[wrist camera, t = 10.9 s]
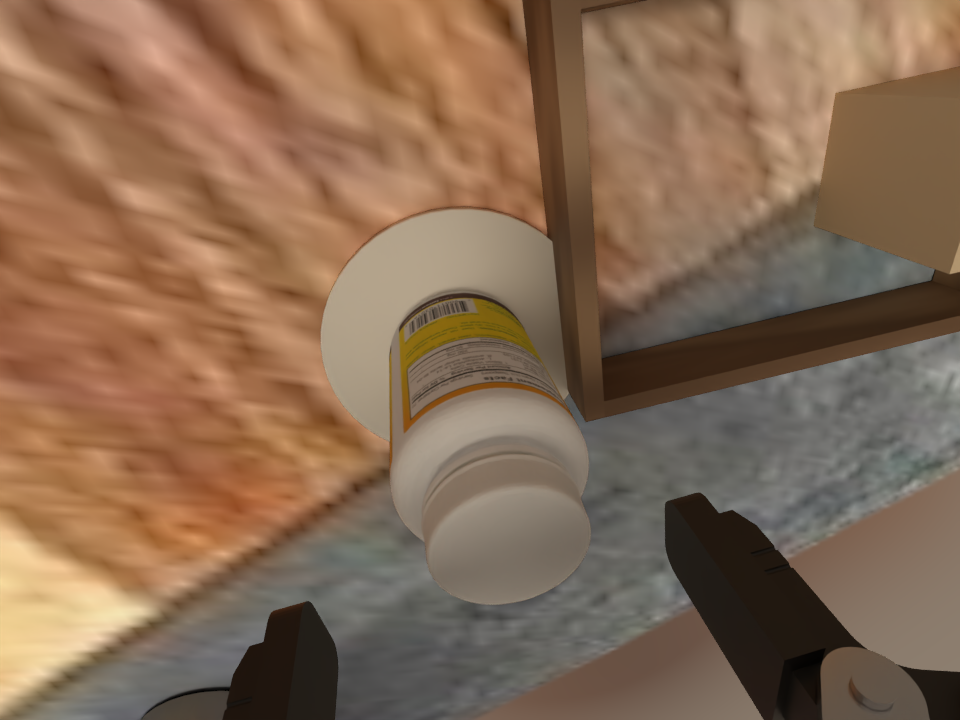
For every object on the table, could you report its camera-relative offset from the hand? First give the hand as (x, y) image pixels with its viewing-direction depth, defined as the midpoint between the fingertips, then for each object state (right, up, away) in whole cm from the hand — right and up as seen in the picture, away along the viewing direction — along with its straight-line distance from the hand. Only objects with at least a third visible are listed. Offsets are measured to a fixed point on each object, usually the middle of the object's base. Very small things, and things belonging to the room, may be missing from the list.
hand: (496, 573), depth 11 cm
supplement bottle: (-1, +5, +10) cm, 11 cm away
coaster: (-1, +6, +10) cm, 11 cm away
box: (+16, +13, +9) cm, 22 cm away
